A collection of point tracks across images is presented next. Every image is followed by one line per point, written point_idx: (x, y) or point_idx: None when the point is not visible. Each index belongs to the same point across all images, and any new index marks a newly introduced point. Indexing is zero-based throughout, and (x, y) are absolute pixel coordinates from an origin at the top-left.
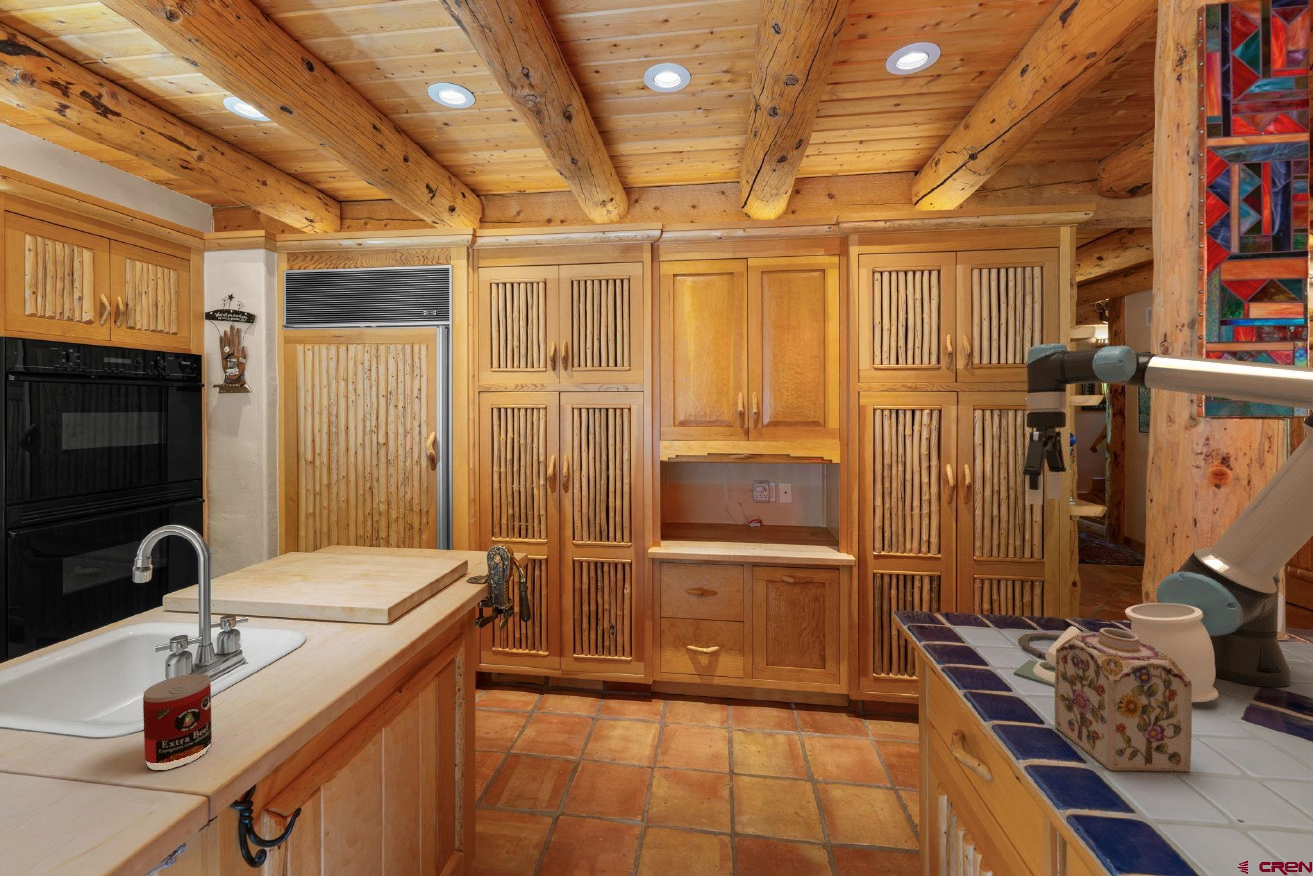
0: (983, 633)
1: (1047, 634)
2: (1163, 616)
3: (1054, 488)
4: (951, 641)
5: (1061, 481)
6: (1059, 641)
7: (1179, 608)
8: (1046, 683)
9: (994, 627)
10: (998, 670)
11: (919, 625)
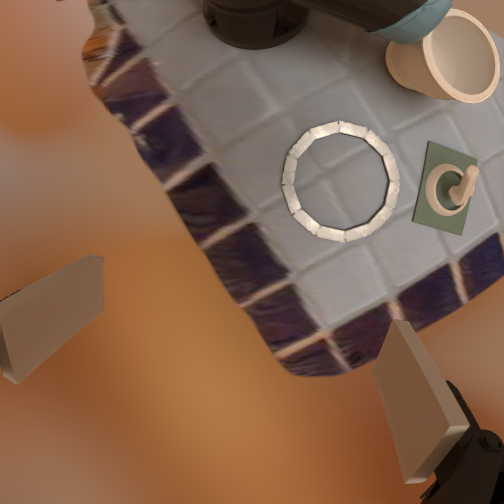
0: (330, 288)
1: (292, 206)
2: (416, 47)
3: (71, 303)
4: (390, 316)
5: (30, 286)
6: (469, 191)
7: None
8: (469, 200)
9: (289, 278)
10: (456, 251)
11: (348, 361)
